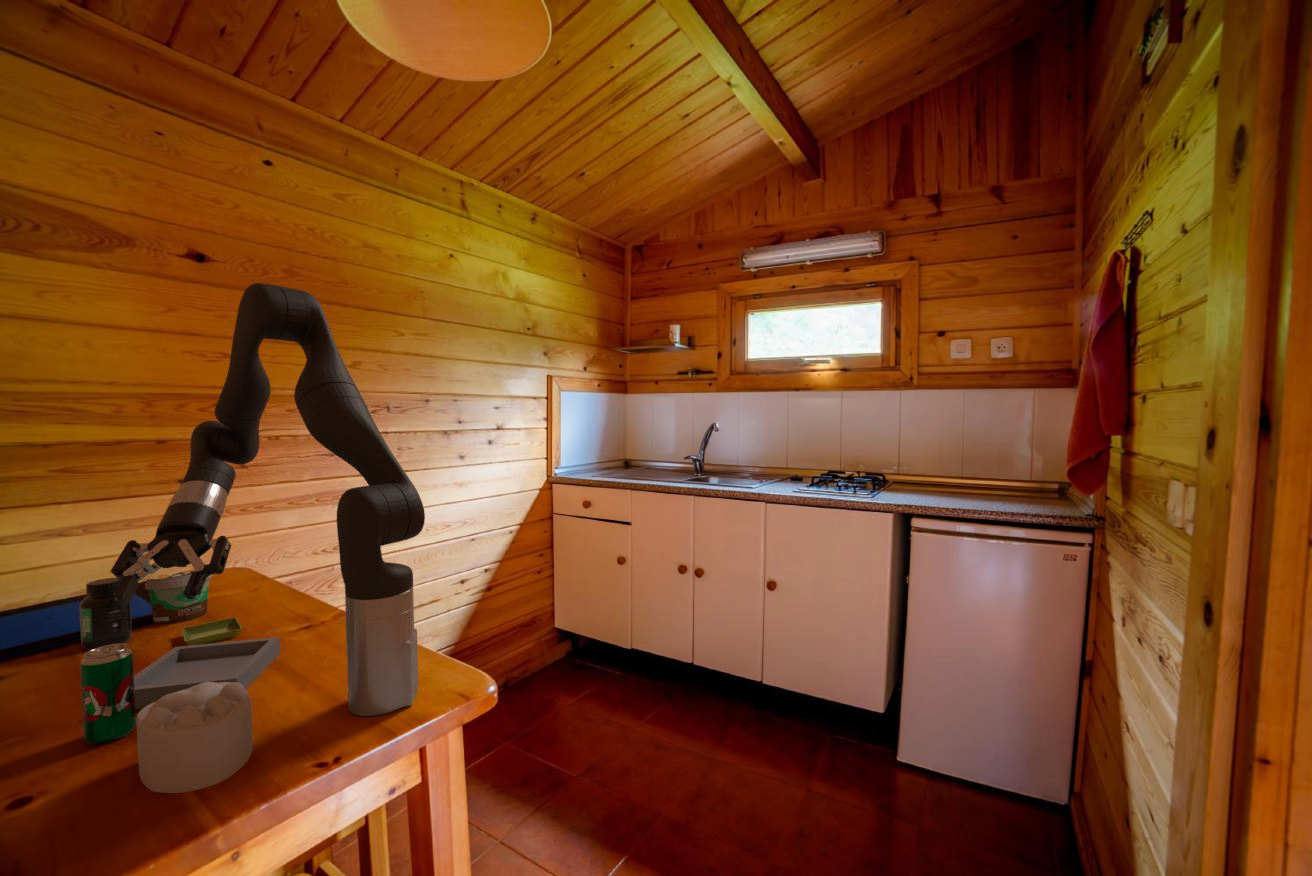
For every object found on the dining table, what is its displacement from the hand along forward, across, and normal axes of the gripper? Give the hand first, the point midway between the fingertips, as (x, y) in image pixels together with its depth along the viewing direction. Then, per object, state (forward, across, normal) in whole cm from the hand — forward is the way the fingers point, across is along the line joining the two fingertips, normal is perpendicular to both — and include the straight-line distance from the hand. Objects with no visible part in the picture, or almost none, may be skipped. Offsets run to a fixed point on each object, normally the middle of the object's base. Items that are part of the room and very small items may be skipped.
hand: (156, 599), depth 84 cm
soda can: (+19, 0, +3) cm, 19 cm away
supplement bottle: (-8, -22, +29) cm, 38 cm away
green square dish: (-6, -4, +28) cm, 29 cm away
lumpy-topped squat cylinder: (+26, +15, -4) cm, 30 cm away
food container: (-15, -14, +37) cm, 43 cm away
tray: (+8, +4, +14) cm, 16 cm away
